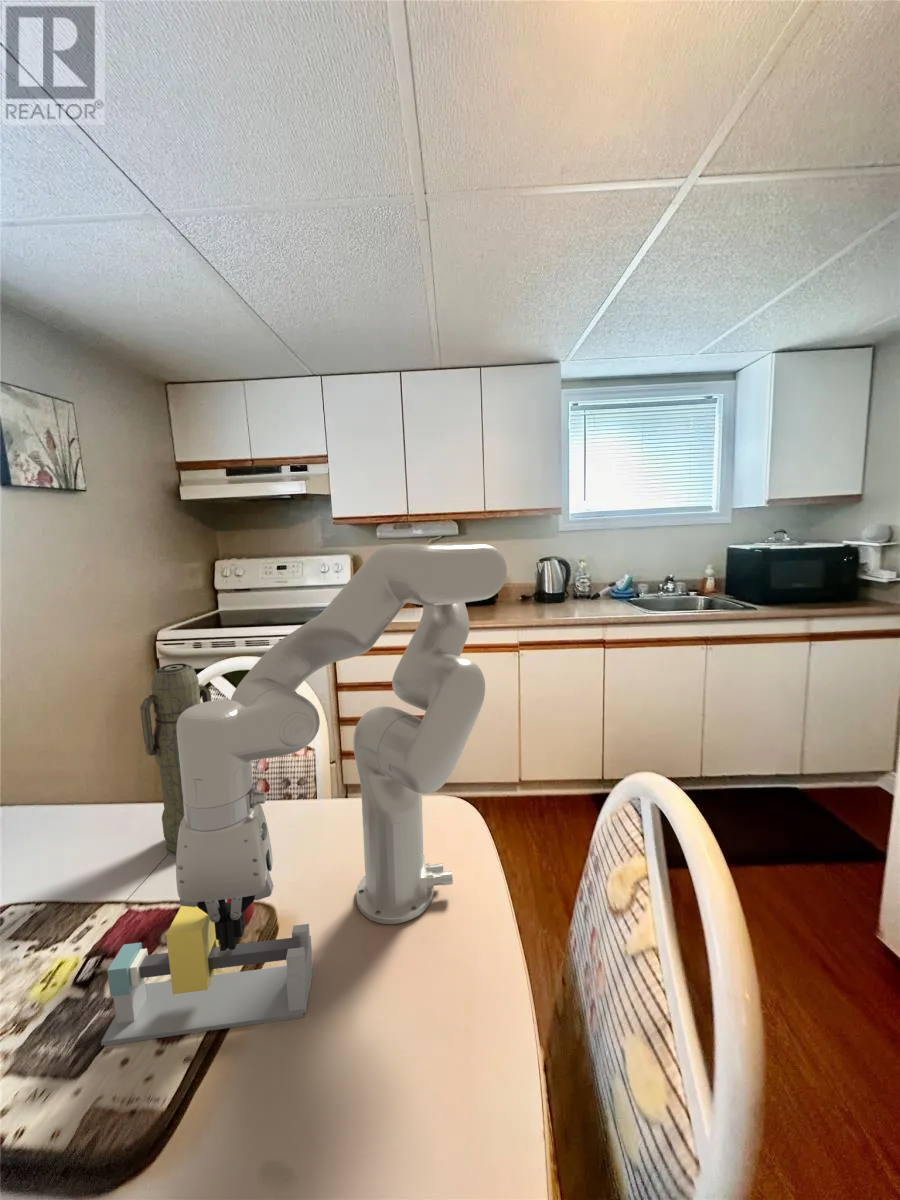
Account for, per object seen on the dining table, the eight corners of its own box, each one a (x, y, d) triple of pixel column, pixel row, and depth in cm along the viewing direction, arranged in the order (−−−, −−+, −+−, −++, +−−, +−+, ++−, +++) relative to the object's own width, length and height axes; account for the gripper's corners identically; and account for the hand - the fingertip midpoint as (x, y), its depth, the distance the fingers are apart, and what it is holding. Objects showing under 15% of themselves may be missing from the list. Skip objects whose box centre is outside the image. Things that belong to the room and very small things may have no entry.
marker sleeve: (220, 958, 63) (214, 902, 61) (207, 989, 58) (201, 930, 57) (187, 962, 62) (181, 905, 61) (172, 994, 58) (165, 934, 57)
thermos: (233, 830, 96) (218, 661, 91) (176, 866, 86) (155, 679, 81) (206, 817, 101) (190, 656, 95) (148, 851, 90) (126, 672, 85)
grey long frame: (313, 966, 66) (309, 912, 65) (305, 1016, 59) (300, 958, 58) (132, 989, 63) (125, 933, 62) (101, 1045, 56) (92, 984, 55)
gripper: (290, 783, 62) (298, 910, 65) (166, 793, 60) (180, 924, 63) (278, 817, 55) (287, 959, 57) (137, 830, 53) (153, 976, 55)
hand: (231, 940), depth 60 cm, fingers closed
